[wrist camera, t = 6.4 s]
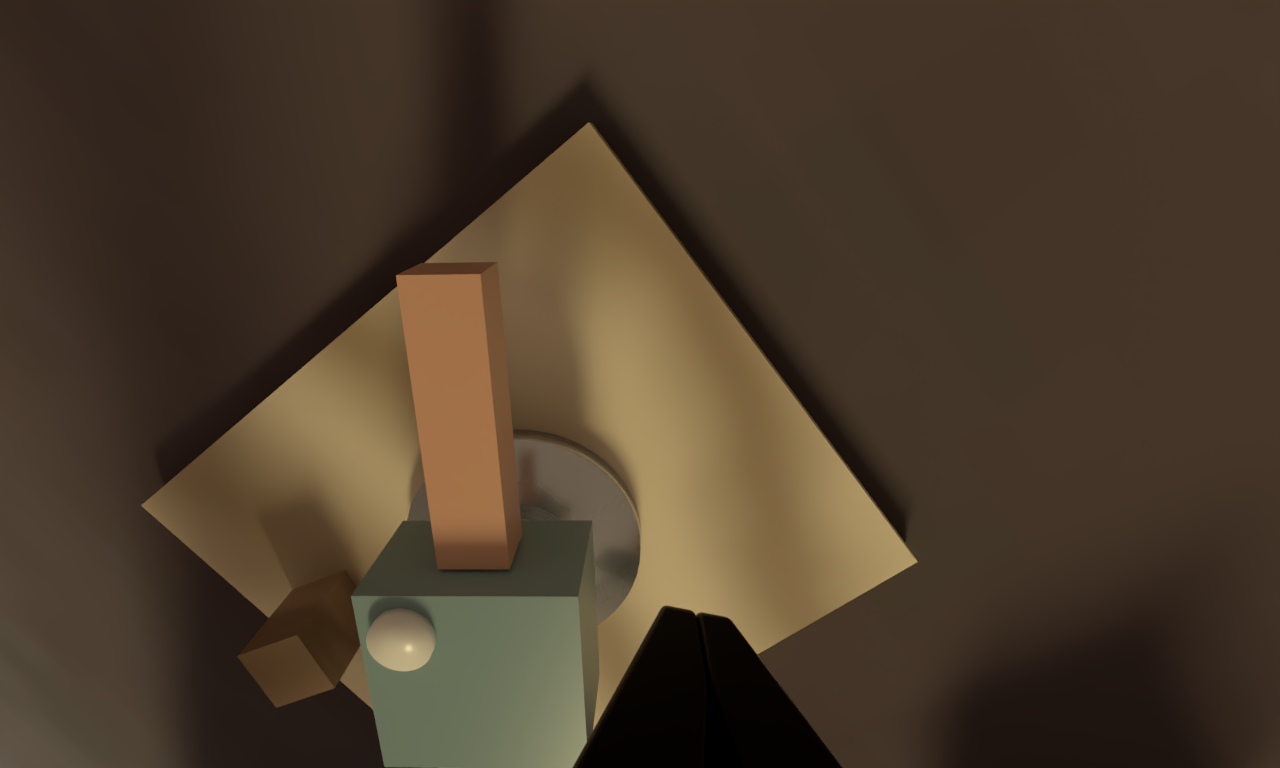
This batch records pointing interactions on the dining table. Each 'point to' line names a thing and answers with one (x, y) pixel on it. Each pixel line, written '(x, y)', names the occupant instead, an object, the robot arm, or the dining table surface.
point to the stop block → (305, 641)
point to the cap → (475, 564)
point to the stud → (575, 507)
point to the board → (561, 429)
